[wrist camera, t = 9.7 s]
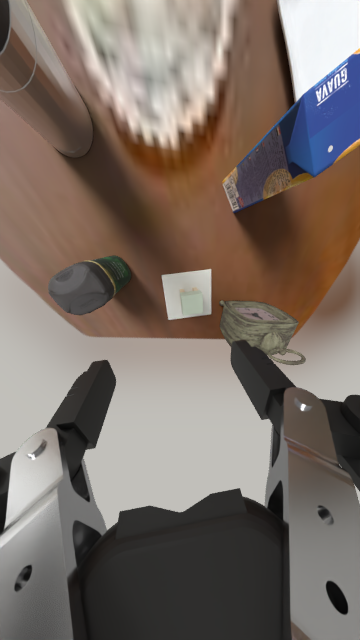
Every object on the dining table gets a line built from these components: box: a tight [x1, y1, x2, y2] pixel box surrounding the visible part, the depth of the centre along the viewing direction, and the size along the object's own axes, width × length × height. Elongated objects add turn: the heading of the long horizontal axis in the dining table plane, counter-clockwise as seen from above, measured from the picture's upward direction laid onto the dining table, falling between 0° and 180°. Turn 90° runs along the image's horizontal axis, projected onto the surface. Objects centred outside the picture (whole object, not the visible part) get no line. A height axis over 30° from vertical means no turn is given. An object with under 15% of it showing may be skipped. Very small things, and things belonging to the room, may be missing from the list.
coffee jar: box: [48, 256, 131, 315], centre depth 31 cm, size 10×8×19 cm
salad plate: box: [277, 0, 360, 103], centre depth 25 cm, size 21×21×3 cm
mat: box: [162, 269, 211, 320], centre depth 44 cm, size 14×14×1 cm
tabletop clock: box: [219, 301, 306, 365], centre depth 37 cm, size 14×9×25 cm, turn 86°
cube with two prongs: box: [179, 287, 203, 315], centre depth 41 cm, size 5×5×7 cm
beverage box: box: [222, 48, 360, 213], centre depth 24 cm, size 7×11×22 cm, turn 123°
